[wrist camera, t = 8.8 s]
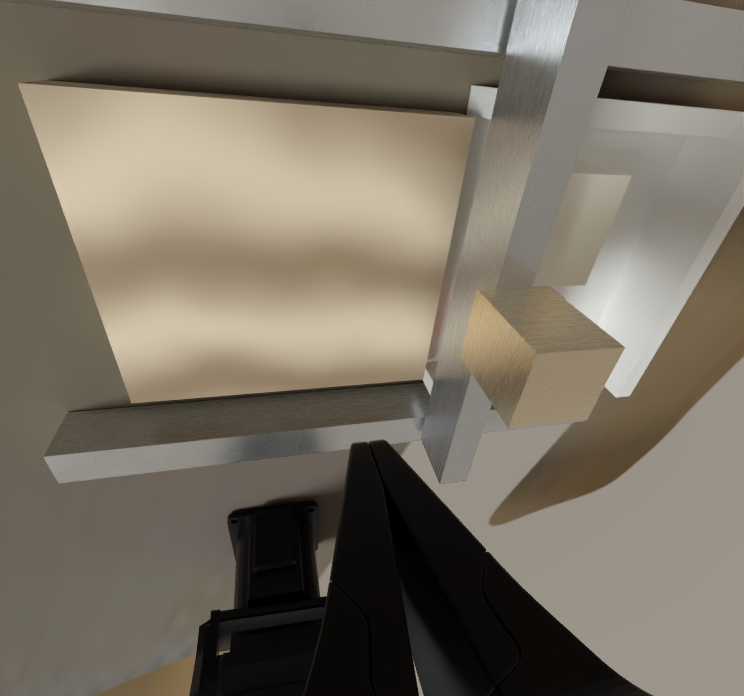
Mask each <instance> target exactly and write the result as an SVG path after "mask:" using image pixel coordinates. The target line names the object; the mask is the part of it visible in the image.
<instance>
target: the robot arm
mask: <svg viewBox="0 0 744 696" xmlns="http://www.w3.org/2000/svg"><path fill="white" fill-rule="evenodd" d="M227 523H228V528H229V533H230V537H231V542H232V546H233V551H234V555H235V560H236V575H235V595H234V609H232V610H225V611H220V610H213V611H211V618H210V620H208V621H207V622H206V623H204V624H202V625H200V626H199V635H198V644H197V653H196V660H195V666H194V672H193V678H192V684H191V690H190V696H419V693H418V688H417V682H416V676H415V670H414V664H413V660H414V663H415V667H416V670H417V674H418V677H419V681H420V684H421V687H422V691H423V694H424V696H653V695H651V694H649V693H647V692H645V691H643V690H642V689H640V688H639V687H637V686H635V685H633V684H632V683H630V682H629V681H628V680H626V679H625V678H623V677H622V676H620V675H619V674H618V673H617V672H615V671H614V670H613V669H611V668H610V667H609V666H608V665H607V664H605V663H604V662H603V661H602V660H601V659H600V658H599V657H597V656H596V655H595V654H594V653H593V652H592V651H591V650H590V649H589V648H587V647H586V646H585V645H584V644H583V643H582V642H581V641H580V640H579V639H578V638H577V637H575V636H574V635H573V634H572V633H571V632H570V631H569V630H568V629H567V628H566V627H564V626H563V625H562V624H561V623H560V622H559V621H558V620H556V618H555V617H553V616H552V615H551V614H550V613H549V612H548V611H547V610H546V609H545V608H544V607H543V606H541V605H540V604H539V603H538V602H537V601H536V600H535V599H534V598H533V597H532V596H531V595H530V594H529V593H528V592H527V591H526V590H525V589H523V588H522V587H521V586H520V585H519V584H518V583H517V582H516V581H515V579H513V578H512V577H511V575H510V574H509V573H508V572H507V571H506V570H505V569H504V568H503V567H502V566H501V565H500V564H499V563H498V562H497V560H496V559H495V558H494V557H493V556H492V555H491V554H490V553H489V552H486V549H485V548H484V546H483V545H482V544H481V543H480V542H479V541H478V540H477V539H476V538H475V537H474V535H472V533H471V532H470V531H469V530H468V529H467V528H466V527H465V526H464V525H463V524H462V522H460V521H459V519H458V518H457V517H456V516H455V515H454V514H453V513H452V512H451V510H450V509H449V508H448V507H447V506H446V505H445V504H444V503H443V502H442V501H441V500H440V499H439V498H438V496H437V495H436V494H435V493H434V492H433V491H432V490H431V489H430V488H429V486H428V485H427V484H426V483H425V482H424V481H423V480H422V479H421V478H420V477H419V476H418V475H417V474H416V472H415V471H414V470H413V469H412V468H411V467H410V466H409V465H408V464H407V463H406V461H404V459H403V458H402V457H401V456H400V455H399V454H398V453H397V452H396V451H395V449H394V448H393V447H392V446H391V445H390V444H389V443H388V442H387V441H386V440H384V439H381V440H372V441H369V443H368V442H366V441H364V442H355V443H352V444H351V447H350V454H349V460H348V466H347V473H346V479H345V486H344V492H343V498H342V505H341V511H340V517H339V524H338V530H337V536H336V543H335V549H334V556H333V562H332V569H331V575H330V583H329V586H328V592H327V596H326V597H320V591H319V581H318V572H317V563H316V554H315V551H316V550H317V549H318V504H317V503H316V502H314V501H313V502H304V503H298V504H291V505H284V506H277V507H270V508H263V509H256V510H249V511H243V512H236V513H231V514H230V515H229V516H228V521H227ZM227 650H230V652H229V653H224V654H223V655H219V652H220V651H227ZM412 657H413V658H412Z"/></svg>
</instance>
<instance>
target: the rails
mask: <svg viewBox="0 0 744 696" xmlns="http://www.w3.org/2000/svg"><path fill="white" fill-rule="evenodd" d="M1 1H10V2H18V3H27V4H36V5H45V6H53V7H62V8H71V9H79V10H88V11H97V12H105V13H114V14H123V15H132V16H140V17H149V18H158V19H166V20H175V21H184V22H192V23H201V24H210V25H219V26H227V27H236V28H245V29H253V30H262V31H271V32H279V33H288V34H297V35H306V36H314V37H323V38H332V39H340V40H349V41H358V42H366V43H375V44H384V45H393V46H401V47H410V48H419V49H427V50H436V51H445V52H453V53H462V54H471V55H480V56H488V57H497V58H505V54H506V49H507V45H508V40H509V36H510V31H511V27H512V22H513V18H514V13H515V8H516V4H517V0H1ZM607 70H610V71H619V72H627V73H636V74H645V75H654V76H662V77H671V78H680V79H688V80H697V81H708V82H727V83H744V11H742V10H736V9H731V8H725V7H719V6H713V5H707V4H701V3H695V2H689V1H684V0H630V3H629V6H628V9H627V12H626V15H625V18H624V21H623V24H622V26H621V29H620V32H619V35H618V38H617V41H616V44H615V47H614V50H613V53H612V56H611V59H610V61H609V64H608V67H607ZM429 399H430V394H429V392H428V390H427V388H426V386H425V384H424V382H422V383H410V384H398V385H387V386H375V387H363V388H351V389H339V390H327V391H315V392H303V393H291V394H280V395H268V396H256V397H244V398H232V399H220V400H208V401H196V402H185V403H173V404H161V405H149V406H137V407H125V408H113V409H101V410H89V411H78V412H68V413H67V414H66V416H65V418H64V420H63V422H62V423H61V425H60V427H59V429H58V431H57V433H56V434H55V436H54V438H53V440H52V442H51V444H50V445H49V447H48V449H47V451H46V453H45V454H44V456H43V457H44V459H45V461H46V463H47V464H48V466H49V468H50V469H51V471H52V473H53V475H54V476H55V478H56V480H57V481H58V483H66V482H74V481H83V480H91V479H100V478H108V477H117V476H125V475H133V474H142V473H150V472H159V471H167V470H176V469H184V468H192V467H201V466H209V465H218V464H226V463H235V462H243V461H251V460H260V459H268V458H277V457H285V456H294V455H302V454H310V453H319V452H327V451H336V450H344V449H350V447H351V444H352V443H355V442H364V441H366V442H368V443H369V441H372V440H381V439H384V440H386V441H387V442H388V443H389V444H395V443H403V442H412V441H420V440H421V436H422V431H423V427H424V422H425V418H426V413H427V409H428V404H429ZM597 401H598V399H597ZM597 401H596V402H595V404H596V403H597ZM595 404H594V406H595ZM594 406H593V408H594ZM593 408H592V410H593ZM592 410H591V412H592ZM591 412H590V414H591ZM590 414H589V415H590ZM589 415H588V417H589ZM588 417H587V419H588ZM587 419H583V420H574V421H566V422H557V423H549V424H540V425H532V426H523V427H515V428H508V427H507V426H506V424H505V423H504V421H503V420H502V418H501V417H500V415H499V414H498V412H497V411H496V409H495V408H494V406H493V405H492V406H491V408H490V411H489V414H488V417H487V420H486V423H485V426H484V429H483V432H482V433H487V432H496V431H504V430H513V429H521V428H530V427H538V426H546V425H555V424H563V423H572V422H580V421H587Z"/></svg>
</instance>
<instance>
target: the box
mask: <svg viewBox="0 0 744 696" xmlns="http://www.w3.org/2000/svg"><path fill="white" fill-rule="evenodd" d="M497 90H498V88H495V87H485V86H475V85H472V86H471V91H470V97H469V102H468V107H467V113H466V115H467V116H471V117H474V118H475V123H474V128H473V133H472V138H471V143H470V148H469V153H468V158H467V163H466V168H465V173H464V178H463V183H462V188H461V193H460V198H459V203H458V208H457V213H456V218H455V223H454V228H453V233H452V238H451V243H450V248H449V253H448V258H447V263H446V268H445V273H444V278H443V283H442V288H441V293H440V298H439V303H438V308H437V313H436V318H435V323H434V328H433V333H432V338H431V343H430V348H429V353H428V358H427V363H426V368H425V373H424V378H423V379H422V380H423V382H424V384H425V386H426V388H427V390H428V392H429V394H430V395H431V390H432V386H433V381H434V377H435V372H436V368H437V363H438V359H439V354H440V349H441V345H442V340H443V336H444V331H445V327H446V322H447V318H448V313H449V309H450V304H451V299H452V295H453V290H454V286H455V281H456V277H457V272H458V268H459V263H460V259H461V254H462V249H463V245H464V240H465V236H466V231H467V227H468V222H469V218H470V213H471V209H472V204H473V199H474V195H475V190H476V186H477V181H478V177H479V172H480V168H481V163H482V159H483V154H484V149H485V145H486V140H487V136H488V131H489V127H490V122H491V118H492V113H493V108H494V104H495V99H496V95H497ZM577 158H578V159H581V160H584V161H587V162H590V163H594V164H597V165H600V166H603V167H606V168H609V169H612V170H616V171H619V172H622V173H625V174H628V175H631V176H632V177H631V180H630V182H629V184H628V187H627V189H626V191H625V194H624V196H623V198H622V201H621V203H620V205H619V208H618V210H617V212H616V215H615V217H614V219H613V222H612V224H611V227H610V229H609V231H608V234H607V236H606V238H605V241H604V243H603V245H602V248H601V250H600V252H599V255H598V257H597V259H596V262H595V264H594V266H593V269H592V271H591V273H590V276H589V278H588V281H587V283H586V285H578V286H550V287H551V288H553V289H554V290H555V291H556V292H558V293H559V294H560V295H562V296H563V297H564V298H565V299H566V301H568V302H569V303H570V304H571V305H573V306H574V307H575V308H576V309H578V310H579V311H580V312H581V313H583V314H584V315H585V316H586V317H588V318H589V319H590V320H591V321H593V322H594V323H595V324H596V325H598V326H599V327H600V328H601V329H603V330H604V331H605V332H607V333H608V334H609V335H610V336H612V337H613V338H614V339H615V340H617V341H618V342H619V343H620V344H622V345H623V346H624V347H625V349H624V351H623V353H622V354H621V356H620V358H619V360H618V362H617V364H616V366H615V367H614V369H613V371H612V373H611V375H610V377H609V378H608V380H607V382H606V384H605V387H606V388H607V389H608V390H609V391H610V392H611V393H612V394H613V395H614V396H615V397H625V396H630V395H631V393H632V391H633V390H634V388H635V386H636V385H637V383H638V381H639V380H640V378H641V376H642V375H643V373H644V371H645V370H646V368H647V366H648V365H649V363H650V361H651V360H652V358H653V356H654V355H655V353H656V351H657V350H658V348H659V346H660V345H661V343H662V341H663V340H664V338H665V336H666V335H667V333H668V331H669V330H670V328H671V326H672V325H673V323H674V321H675V320H676V318H677V316H678V315H679V313H680V311H681V310H682V308H683V306H684V305H685V303H686V301H687V300H688V298H689V296H690V295H691V293H692V291H693V290H694V288H695V286H696V285H697V283H698V281H699V280H700V278H701V276H702V275H703V273H704V271H705V270H706V268H707V266H708V265H709V263H710V261H711V260H712V258H713V256H714V255H715V253H716V251H717V250H718V248H719V246H720V245H721V243H722V241H723V240H724V238H725V236H726V235H727V233H728V231H729V230H730V228H731V226H732V225H733V223H734V221H735V220H736V218H737V216H738V215H739V213H740V211H741V210H742V208H743V206H744V112H740V111H731V110H722V109H713V108H704V107H693V106H683V105H672V104H662V103H652V102H641V101H631V100H620V99H610V98H600V97H597V99H596V102H595V105H594V108H593V111H592V114H591V117H590V120H589V123H588V126H587V129H586V131H585V134H584V137H583V140H582V143H581V146H580V149H579V152H578V155H577Z"/></svg>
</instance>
